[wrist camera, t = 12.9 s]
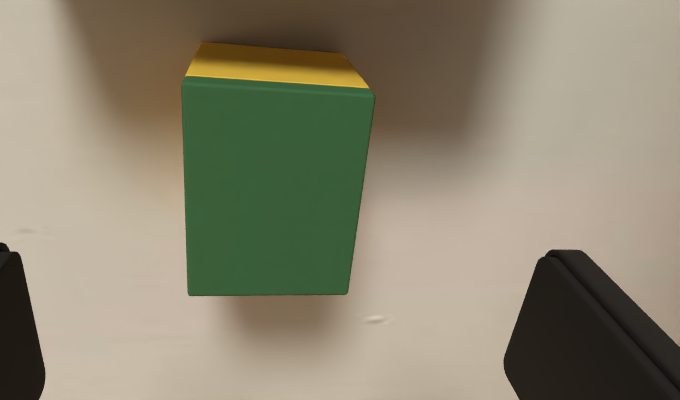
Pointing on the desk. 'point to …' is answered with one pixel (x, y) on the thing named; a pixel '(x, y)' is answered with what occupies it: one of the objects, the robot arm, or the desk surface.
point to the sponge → (272, 169)
